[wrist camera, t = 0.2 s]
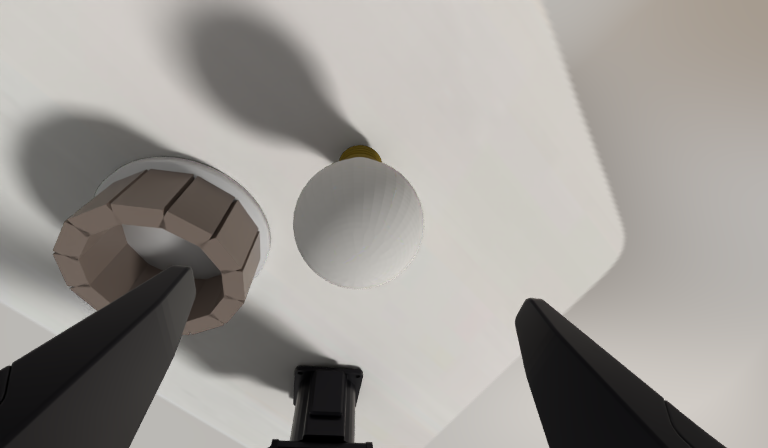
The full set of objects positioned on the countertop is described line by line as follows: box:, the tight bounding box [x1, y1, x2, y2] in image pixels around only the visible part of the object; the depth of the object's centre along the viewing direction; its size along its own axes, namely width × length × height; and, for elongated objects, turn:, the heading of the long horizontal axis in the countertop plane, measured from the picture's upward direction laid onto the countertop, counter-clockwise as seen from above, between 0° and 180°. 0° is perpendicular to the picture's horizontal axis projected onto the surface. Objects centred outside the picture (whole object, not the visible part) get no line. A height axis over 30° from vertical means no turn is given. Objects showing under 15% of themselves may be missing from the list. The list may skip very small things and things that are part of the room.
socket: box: [53, 156, 271, 335], centre depth 22 cm, size 11×11×5 cm
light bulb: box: [293, 145, 424, 289], centre depth 18 cm, size 6×6×10 cm
